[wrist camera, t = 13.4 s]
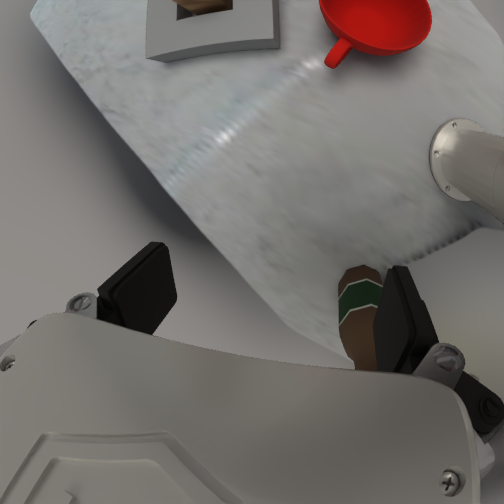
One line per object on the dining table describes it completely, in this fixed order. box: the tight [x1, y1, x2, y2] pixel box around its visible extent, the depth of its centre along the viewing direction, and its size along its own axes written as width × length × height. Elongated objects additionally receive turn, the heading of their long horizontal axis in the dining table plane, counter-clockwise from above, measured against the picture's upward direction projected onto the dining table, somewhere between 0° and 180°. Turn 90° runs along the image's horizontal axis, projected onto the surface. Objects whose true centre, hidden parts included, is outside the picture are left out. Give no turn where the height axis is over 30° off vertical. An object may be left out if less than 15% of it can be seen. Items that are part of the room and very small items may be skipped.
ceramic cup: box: [319, 0, 432, 69], centre depth 22 cm, size 13×17×10 cm
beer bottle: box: [338, 265, 383, 371], centre depth 34 cm, size 8×8×24 cm
